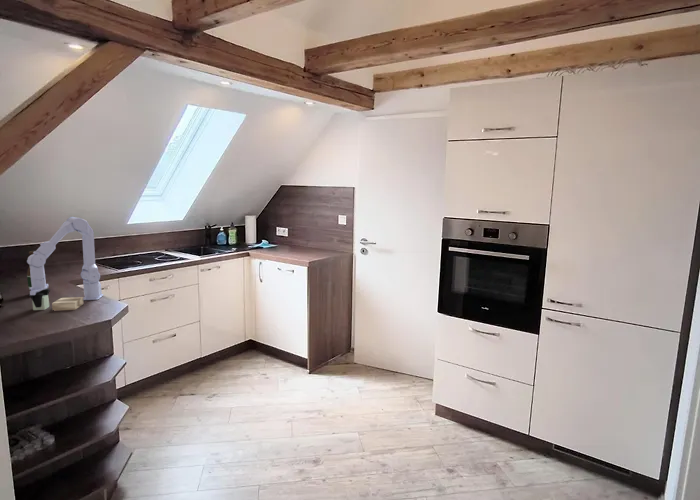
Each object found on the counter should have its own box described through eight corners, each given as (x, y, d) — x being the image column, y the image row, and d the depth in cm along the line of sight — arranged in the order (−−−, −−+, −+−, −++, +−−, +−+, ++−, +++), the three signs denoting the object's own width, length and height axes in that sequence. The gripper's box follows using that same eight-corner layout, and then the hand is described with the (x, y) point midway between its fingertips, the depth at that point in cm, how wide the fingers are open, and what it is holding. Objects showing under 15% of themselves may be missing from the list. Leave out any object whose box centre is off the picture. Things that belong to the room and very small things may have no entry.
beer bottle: (33, 292, 242) (28, 250, 238) (48, 292, 244) (44, 249, 240) (25, 296, 235) (20, 252, 231) (41, 295, 236) (37, 252, 232)
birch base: (62, 305, 221) (61, 297, 220) (83, 304, 223) (83, 297, 222) (52, 311, 211) (51, 303, 210) (75, 310, 213) (74, 302, 212)
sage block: (38, 307, 216) (36, 295, 215) (49, 306, 217) (48, 295, 216) (33, 310, 211) (31, 298, 210) (44, 309, 212) (43, 297, 211)
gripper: (36, 275, 218) (38, 301, 220) (21, 282, 204) (24, 310, 206) (51, 275, 219) (54, 301, 222) (38, 282, 205) (41, 309, 208)
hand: (41, 305), depth 214 cm, fingers closed on sage block, 5 cm apart
